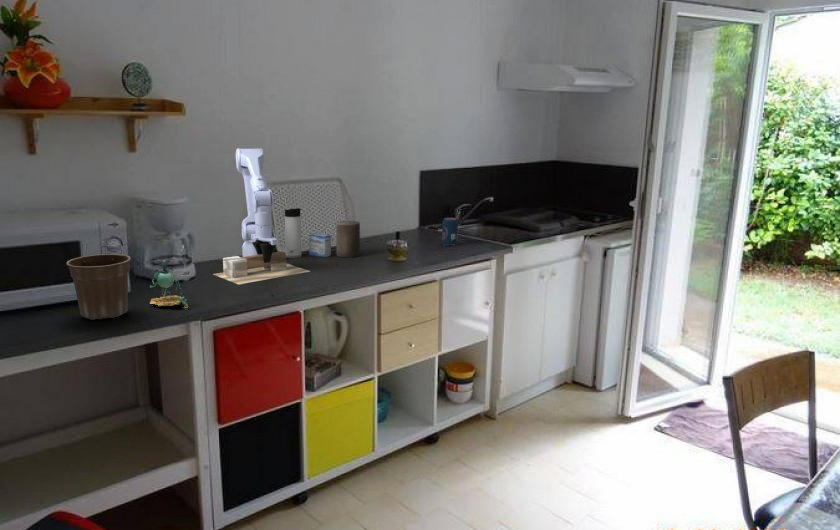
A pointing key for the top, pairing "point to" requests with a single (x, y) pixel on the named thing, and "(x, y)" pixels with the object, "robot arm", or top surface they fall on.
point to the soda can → (449, 231)
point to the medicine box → (319, 245)
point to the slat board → (254, 271)
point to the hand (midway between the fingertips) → (264, 261)
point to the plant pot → (101, 284)
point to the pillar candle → (348, 239)
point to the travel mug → (293, 233)
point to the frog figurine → (165, 281)
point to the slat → (258, 260)
